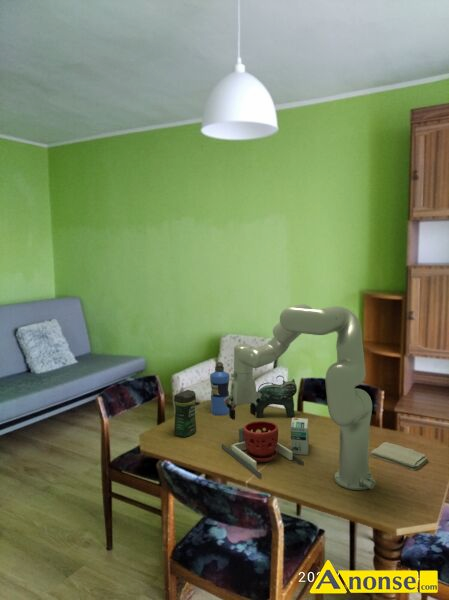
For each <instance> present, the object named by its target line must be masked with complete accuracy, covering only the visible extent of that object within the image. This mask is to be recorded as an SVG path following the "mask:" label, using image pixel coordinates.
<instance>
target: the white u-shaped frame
mask: <svg viewBox="0 0 449 600" xmlns="http://www.w3.org/2000/svg"><path fill="white" fill-rule="evenodd" d="M230 450H231V451H232V452H234V453H235V454H236V455H237V456H239V457H240V458H241V459H243V460H244V461H245V462H246V463H248V464H249V465H250V466H252V467H253V468H254V469H256V470H257V471H258V469H257V467H258V466H257V461H255V460H253V459H252V458H251V457H249V456H248V455H247V453H245V450H246V451H247V450H248V449H247V447H246V444H245V440H244V427H242V428H238V442H236V443H232V444H230ZM275 450H276V451H277V453H278V454H280V455H282V456H284V457H285V458H287V459H288V460H290V461H293V455H294V454H293V452H292V451H291V449H289V448H287V447H286V446H284V445H283V444H281V443H279V442H278V443H277V447H276V449H275Z"/></svg>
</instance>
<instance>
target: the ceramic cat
mask: <svg viewBox="0 0 449 600" xmlns="http://www.w3.org/2000/svg"><path fill="white" fill-rule="evenodd" d="M279 377H281V378H283V380H282V383H281V384H276V383H273V382H270V384H268V382H265V383H264V382H263V383H261V384H260V385H259V386H258V388H257V392H259V393H261V394H262V395H261V398H260V401H259V402H258V403H257V406H256V415H255V416H256V418H257V419H263V418H264V410H265V409H266V408H267V407H268V406H270V405H276V406H283V407H284V409H285V412H286V413H285V414H286V418H287V419H289V418H291V419H292V418H295V401H294V396H295V395H296V393H297V391H298V387H297V384H296V381H295V379H294V378H293V379H291V381H290V380H288V381H286V380H285V378H284V376H283V375H277V376H276V377H275V379H278V378H279ZM267 384H268V385H267ZM263 385H264V386H263ZM256 397H257V395H256Z"/></svg>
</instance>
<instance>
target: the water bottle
mask: <svg viewBox="0 0 449 600" xmlns="http://www.w3.org/2000/svg"><path fill="white" fill-rule="evenodd" d="M214 370H215V371H214V372H212V373H210V375H209V377H210V378H209V381H210V387H211V391H210V413H211V414H212V415H213V416H218V417H219V416H227V415H229V408H228V407H227V406H226V405H225V403H224V401H223V400H224V399H225V398H226V397H228V396H229V395H230V393H229V392H230V391H229V385H230V373H228V372H226V371H225V366H224V363H223V362H221V361H218V362H217V363H216V364H215V369H214Z"/></svg>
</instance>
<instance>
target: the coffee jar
mask: <svg viewBox="0 0 449 600" xmlns="http://www.w3.org/2000/svg"><path fill="white" fill-rule="evenodd" d="M196 397H197V396H196V391H194V390H190V389H186V390H183V391H181V392H178V393H175V394H174V397H173V404H174V410H175V411H174V414H175V415H174V427H173V428H174V432H173V433H174V435H176V436H178V437H180V438H181V437H183V438H184V437H185V438H187V437H189V436H191V435H194V433H196V432H197V422H196V420H197V419H196V400H197V398H196Z"/></svg>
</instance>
